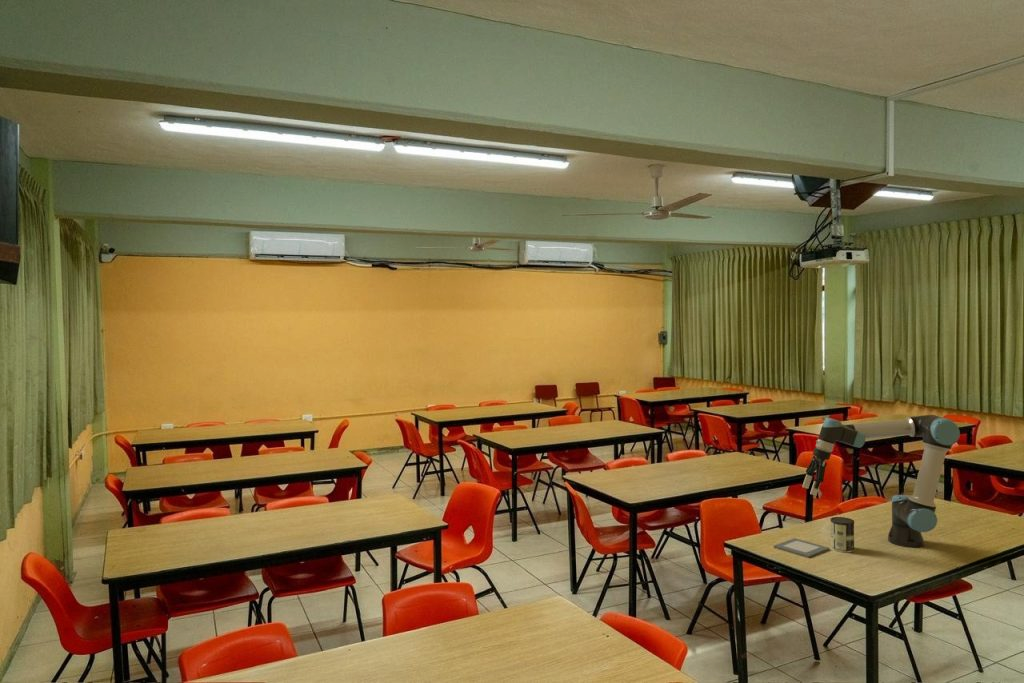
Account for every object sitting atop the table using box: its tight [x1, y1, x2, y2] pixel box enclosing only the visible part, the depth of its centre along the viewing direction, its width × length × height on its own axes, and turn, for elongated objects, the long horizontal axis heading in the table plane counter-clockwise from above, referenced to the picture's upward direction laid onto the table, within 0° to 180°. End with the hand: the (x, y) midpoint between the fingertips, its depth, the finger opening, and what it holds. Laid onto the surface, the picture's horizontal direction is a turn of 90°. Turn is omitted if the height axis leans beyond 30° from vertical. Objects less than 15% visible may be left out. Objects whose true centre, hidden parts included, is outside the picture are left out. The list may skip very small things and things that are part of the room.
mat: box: [773, 537, 831, 559], centre depth 319 cm, size 18×18×1 cm
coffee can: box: [830, 516, 855, 553], centre depth 318 cm, size 10×10×14 cm
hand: (809, 491), depth 319 cm, fingers open, 13 cm apart
